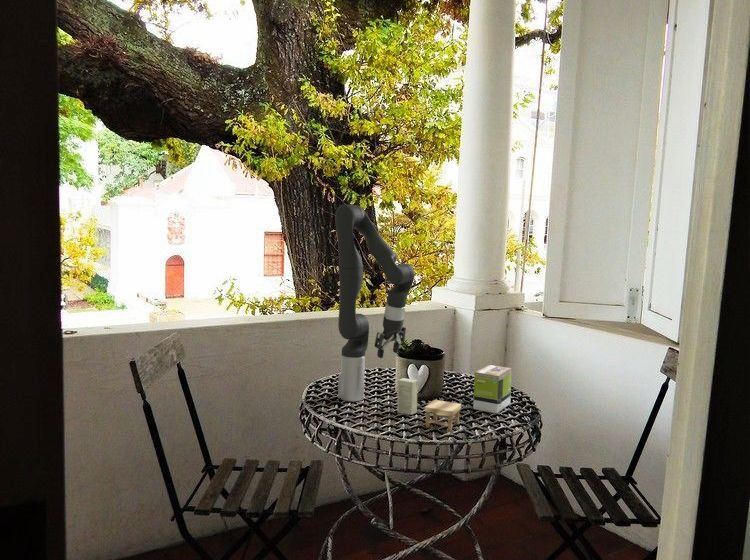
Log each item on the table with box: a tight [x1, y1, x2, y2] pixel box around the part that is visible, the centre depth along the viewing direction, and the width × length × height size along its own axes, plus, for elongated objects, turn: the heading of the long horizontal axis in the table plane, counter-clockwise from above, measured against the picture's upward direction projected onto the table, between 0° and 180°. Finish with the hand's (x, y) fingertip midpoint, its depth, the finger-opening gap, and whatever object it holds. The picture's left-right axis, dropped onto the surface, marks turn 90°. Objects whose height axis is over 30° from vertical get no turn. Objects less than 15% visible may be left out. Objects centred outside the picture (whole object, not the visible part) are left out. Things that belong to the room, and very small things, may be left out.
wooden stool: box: [424, 399, 462, 432], centre depth 223 cm, size 10×10×7 cm
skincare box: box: [396, 377, 418, 416], centre depth 235 cm, size 6×4×12 cm
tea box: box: [472, 364, 513, 414], centre depth 247 cm, size 15×10×15 cm, turn 149°
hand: (387, 354), depth 243 cm, fingers open, 8 cm apart
